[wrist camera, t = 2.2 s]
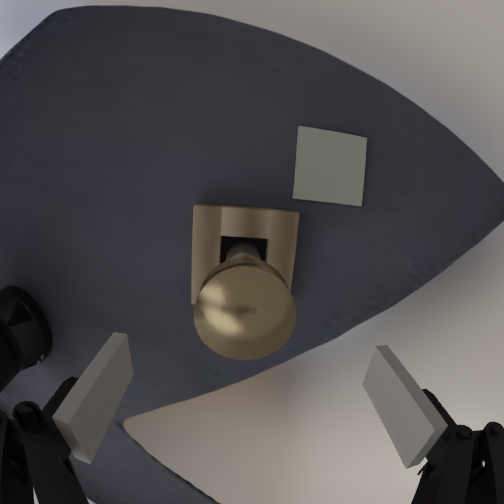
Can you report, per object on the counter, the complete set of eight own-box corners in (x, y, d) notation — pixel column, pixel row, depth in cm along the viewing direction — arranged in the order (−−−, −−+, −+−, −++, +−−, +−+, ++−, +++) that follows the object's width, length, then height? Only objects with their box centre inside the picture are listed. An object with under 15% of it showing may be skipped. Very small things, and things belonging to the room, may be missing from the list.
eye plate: (194, 296, 36) (191, 303, 34) (197, 203, 33) (193, 205, 31) (285, 301, 37) (288, 309, 34) (295, 210, 34) (299, 212, 31)
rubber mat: (292, 198, 34) (293, 198, 33) (298, 126, 31) (299, 125, 31) (359, 205, 34) (361, 206, 33) (364, 138, 32) (366, 138, 31)
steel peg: (213, 279, 36) (194, 356, 19) (216, 225, 34) (193, 266, 18) (268, 282, 36) (289, 361, 20) (273, 229, 34) (303, 273, 18)
